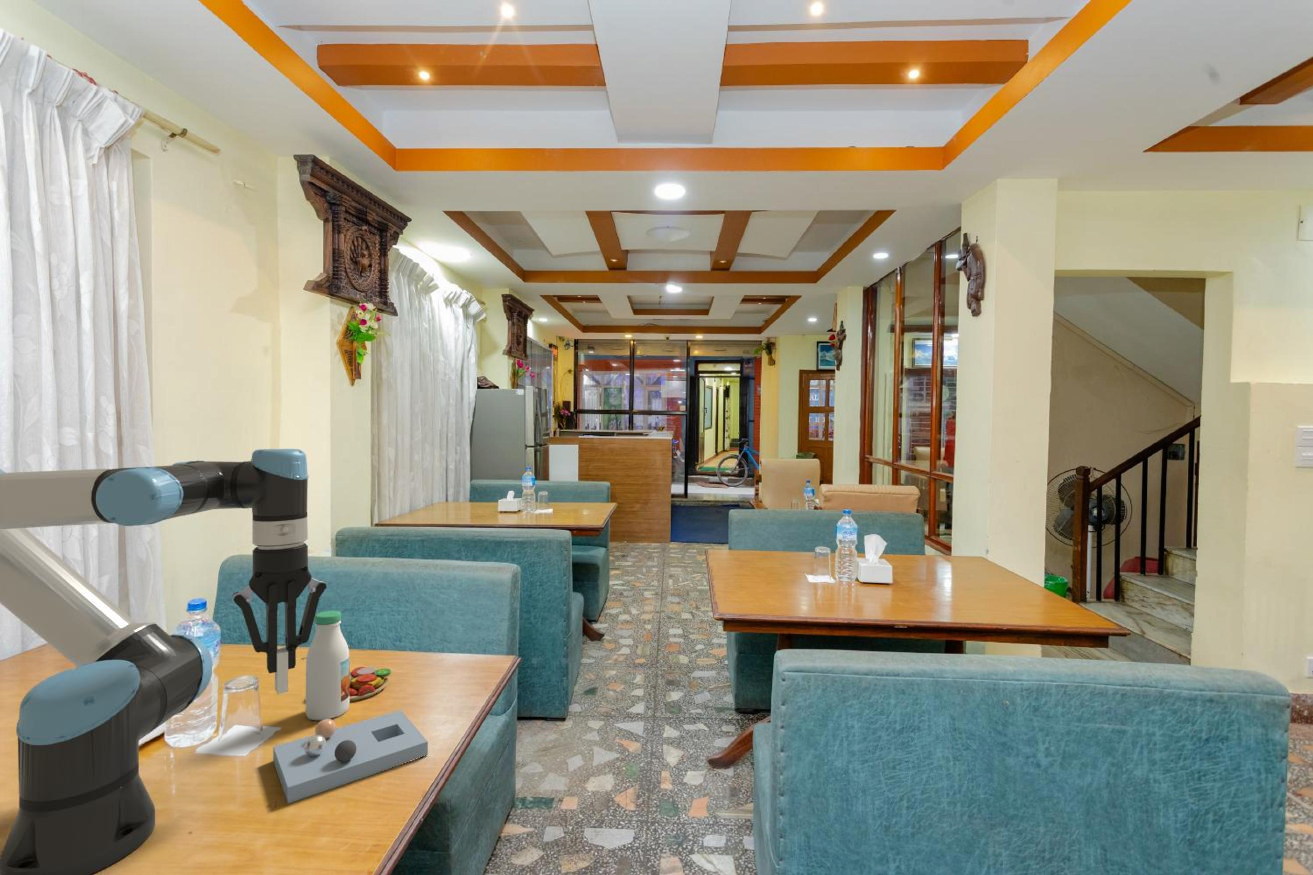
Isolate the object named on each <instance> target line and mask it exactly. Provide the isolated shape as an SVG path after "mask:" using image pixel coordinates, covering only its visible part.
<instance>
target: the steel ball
mask: <svg viewBox="0 0 1313 875" xmlns="http://www.w3.org/2000/svg"><path fill="white" fill-rule="evenodd" d="M313 735H314V736H312V737H310V738H309V739H308V740H307V741H306V743H305V745H304V750H305V753H306V754H307V755H309V756H317V755H319V754H321V753H322V752H323V751H324V749H325V747H326V740H325V738H324V737H323V736H321V735H315V734H313Z"/></svg>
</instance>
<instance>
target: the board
mask: <svg viewBox="0 0 1313 875" xmlns="http://www.w3.org/2000/svg"><path fill="white" fill-rule="evenodd" d="M314 735H316V733H315V734H311V735H308V736H305V737H300V738H298V739H294V740H290V741H287V742H285V743H280V744H277V745H273V747H272V749H273V750H272V752H273V754H272V757H273V758H272V759H273V760H272V761H273V764H274V767H275V769H276V773H277V776H278V778H279V781H280V784H281V785H280V786H281V789H282V790H283V794H284V796H285V800H286V803H287V804H288V805H289V804H291V803H294V802H297V801H300V800H304V799H305V798H306V799H307V798H308V797H312V796H314V795H317V794H318V795H319V794H320V793H323V792H326V791H328V790H332V789H335V788H337V787H341V786H345V785H347V784H349V783H352V782H356V781H358V780H362V779H365V778H368V777H370V776H372V775H376V774H378V773H381V771H382V772H384V770H385V771H387V770H388V771H389V769H390V768H391V769H393V768H396V767H399V766H401V765H400V764H402V763H405V762H408V761H410V760H413V759H416V758H419V757H421V756H424V755H429V754H428V753H429V751H428V749H429V747H428V746H429V744H428V743H429V742H428V740H427V739H426V737H425V736H424V735H423V734H422V733H421V732H420V731H419V729H418V728H417V727H416V726H415V724H414V723H413V722H412V721H411V720H410V719H409V717H408V716H407V715H406V714H405V713H404V712H403V710H402V709H400V710H396V711H392V712H388V713H385V714H381V715H378V716H375V717H371V718H368V719H365V720H361V721H357V722H354V723H350V724H346V725H343V726H340V727H336V730H335V732H334V734H333V735H332V736H331V737H329V738H327V739H325V740H326V747H325V749H324V751H323V752H322V753H321V754H319V755H317V756H309V755H307V754H306V753H305V750H304V745H305V743H306V741H307V740H308V739H309V738H310V737H312V736H314ZM345 740H351V741H353V742H354V743H355V745H356V753H355V755H354V757H353V758H352V759H351V760H349V761H347V762H340V761H338V760H337V759H336V758H335V749H336V747H337V745H338V744H339V743H341V742H342V741H345ZM408 763H409V762H408ZM405 764H406V763H405ZM402 765H403V764H402ZM395 766H396V767H395ZM392 767H393V768H392ZM391 769H390V770H391Z"/></svg>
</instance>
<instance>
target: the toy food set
mask: <svg viewBox="0 0 1313 875" xmlns="http://www.w3.org/2000/svg"><path fill="white" fill-rule="evenodd" d="M391 675H392V670H391V669H390V668H380V669H377V667H374V666H366V667H365V666H359V667H356V668H354V669H353V670H352V671H351V672H350V702H354V701H360V699H361V700H364V699H363V698H365V699H368V698H370V696H371V697H373V696H375V695H377V694H379V693H380V692H382V691H383V690H384V689H385V688H386V687H387V686H388V684H389V678H388V677H389V676H391ZM382 689H383V690H382ZM381 690H382V691H381ZM376 693H377V694H376ZM374 694H375V695H374ZM372 695H373V696H372ZM367 697H368V698H367Z"/></svg>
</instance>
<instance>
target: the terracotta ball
mask: <svg viewBox="0 0 1313 875" xmlns="http://www.w3.org/2000/svg"><path fill="white" fill-rule="evenodd" d="M336 728H337V724H336V722H335V721H334V719H332V718H331V719H324V720H319V722H318V723H317V724H316V727H315V729H314V730H315V731H314V732H315V734H316V735H321V736H323V737H324V738H325V739H327V738H329V737H331V736H332V735H333V734H334V732H335V730H336Z"/></svg>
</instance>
